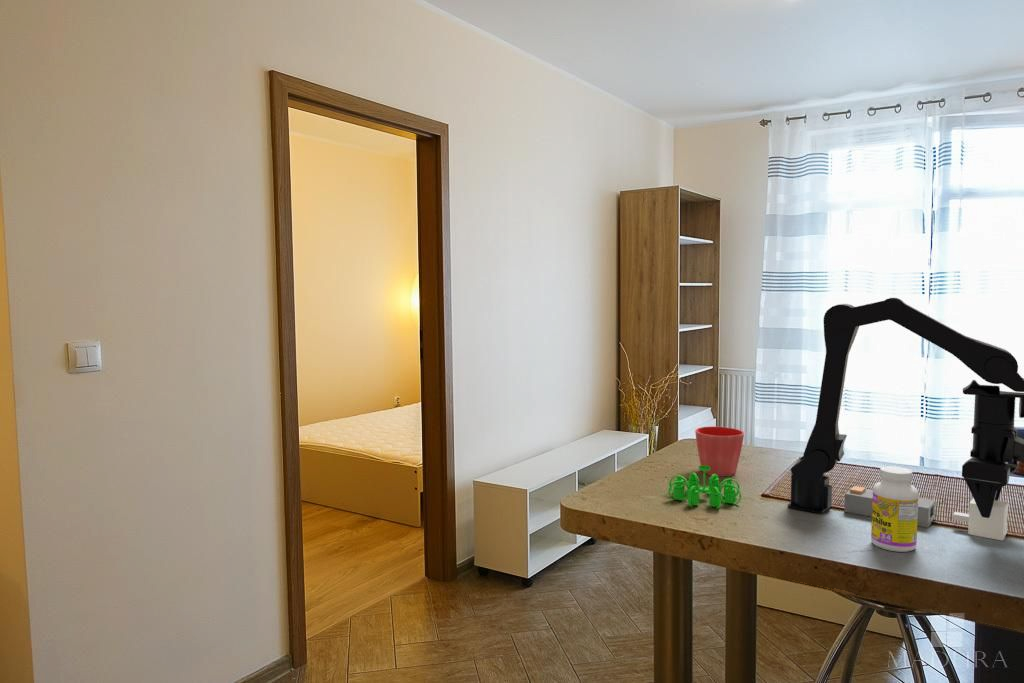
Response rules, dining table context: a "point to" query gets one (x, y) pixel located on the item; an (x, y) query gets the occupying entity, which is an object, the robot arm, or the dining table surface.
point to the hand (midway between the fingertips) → (989, 510)
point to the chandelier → (704, 489)
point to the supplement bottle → (895, 510)
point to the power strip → (862, 499)
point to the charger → (986, 520)
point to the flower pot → (719, 449)
